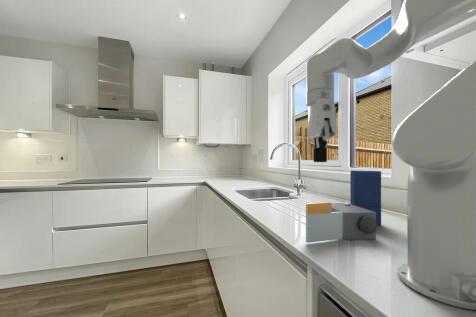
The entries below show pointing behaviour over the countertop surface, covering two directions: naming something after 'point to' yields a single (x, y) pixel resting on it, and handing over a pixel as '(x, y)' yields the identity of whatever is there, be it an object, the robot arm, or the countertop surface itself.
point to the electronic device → (366, 191)
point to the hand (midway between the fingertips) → (320, 162)
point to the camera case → (356, 221)
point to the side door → (322, 222)
